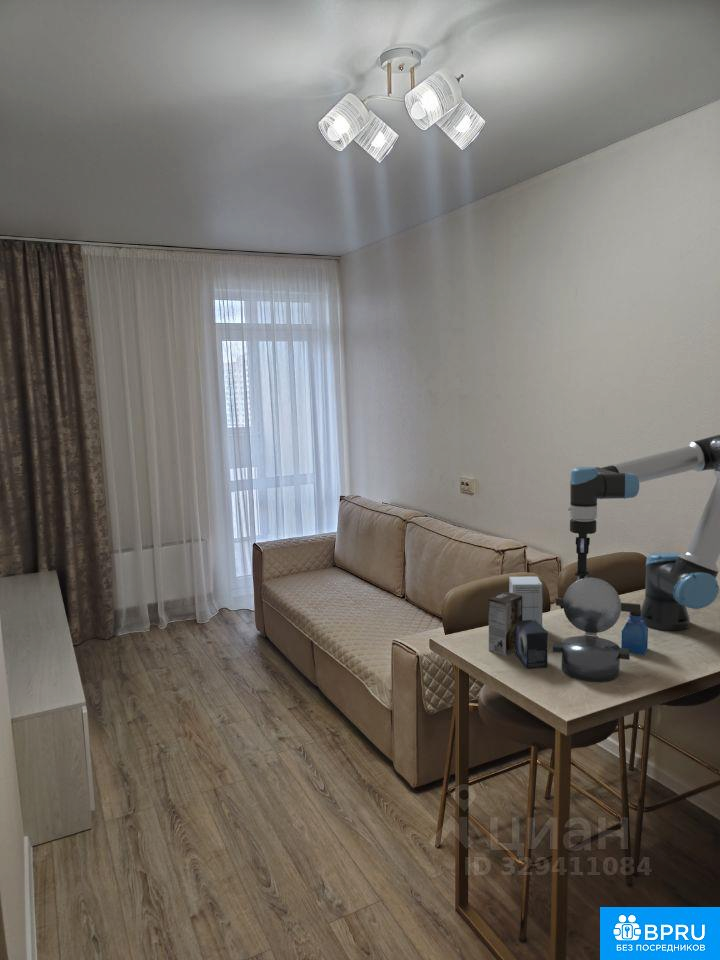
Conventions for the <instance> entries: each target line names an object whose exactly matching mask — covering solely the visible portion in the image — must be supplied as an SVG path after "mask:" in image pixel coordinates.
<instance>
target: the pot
mask: <svg viewBox="0 0 720 960" xmlns="http://www.w3.org/2000/svg"><path fill="white" fill-rule="evenodd" d="M551 650H552V652H553V653H560V654H561V665H560V668H561V671H562V673H564V674H565V675H567V676H568V677H570V678H572V679H575V680H577V681H582V682H588V683H608V682H609V683H610V682H611V681H615V680H617V679H618V678H619V677H620V672H621V671H620V665H621V660H626V661H627V660H628V661H630V658H631V657H630V656H631V655H630V654H631V653H629V649H627V648H621V647H620V646H619V645H618V644H617V643H616V642H615V641H612V640H609V639H607V638H603V637H599V636H598V635H597V636H593V635H585V634H583V635H578V636H577V635H576V636H569V637H567V638H565V639H563V640H562V641H556V640H555V641H554V640H553V642H552V649H551Z"/></svg>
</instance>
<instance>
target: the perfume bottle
mask: <svg viewBox="0 0 720 960" xmlns="http://www.w3.org/2000/svg"><path fill="white" fill-rule="evenodd" d="M641 619H642V615H641V609H640V613H636V612H628V619H627V621H626V623H625V625H624V627H623V628H622V629H621V639H620V640H621V641H620V642H621V647H620V648H627V649H629V653H630V654H632V655H639V656H642V657H643V656H645V654H646V652H647V650H648V646H649V645H648V642H649V627H648V626H647V625H646V624H645V622H644V621H643V620H641Z"/></svg>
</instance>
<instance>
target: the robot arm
mask: <svg viewBox="0 0 720 960" xmlns="http://www.w3.org/2000/svg"><path fill="white" fill-rule="evenodd" d="M693 470H694V472H702V471H709V470H711V471H712V470H713V473H714V474H715V477H716V481H715V483H714V486H713V488H712V490H711V492H710V495H709V498H708V499H707V502H706V505H705V507H704V509H703V511H702V514H701V515H700V518H699V521H698V523H697V526H696V527H695V530H694V532H693V535H692V537H691V539H690V541H689V544H688V546H687V548H686V551H685V552H684V553H677V552H676V553H675V552H674V553H673V552H672V553H671V552H657V553H656V552H654V553H650V554H648V555H647V556H646V560H645V561H646V562H645V588H644V589H645V591H644V592H645V593H644V595H645V596H644V600H643V603H642V605H641V608H640V610H641V615H642V619H641V620H643V621H644V622H645V624H646V625H647V627H648V628H651V629H656V630H661V631H662V630H663V631H682V629H683V630H686V629H685V628H687V627H688V626H689V625H691V623H690V622H691V620H690V615H689V612H688V609H687V608H689V609H692V610H699V609H703V608H706V607H709V606H710V605H711V604H713V602H715V600H716V599H717V598H718V595H719V593H720V586H719V584H718V580H717V576H718V573H719V571H720V570H719V568H718V566H717V561H718V559H719V558H720V434H717V435H713V436H709V437H706V438H702V439H699V440H695V441H690V442H689V443H688V444H687V445H686V446H684V447H680V448H677V449H671V450H668V451H664V452H660V453H659V452H658V453H655V454H652V455H648V456H644V457H639V458H636V459H632V460H628V461H623V462H618V463H615V464H612V465H608V466H604V467H599V466H595V467H593V466H577V467H574V468H572V469H571V472H570V473H571V474H570V482H569V484H570V490H569V491H570V492H569V493H570V498H569V499H570V502H569V503H570V505H569V506H570V507H567V510H568V511H569V512H570V514H569V516H570V517H569V518H571V519H570V520H569V531H570V533H574V534H578V537H577V536H576V537H575V545H576V547H575V548H576V549H575V550H576V552H575V553H576V554H577V571H576V572H575V573H574V575H575V576H577V577H576V581H577V580H580V579H583V578H588V575H589V574H590V572H589V571H587V569H588V566H587V565H588V564H587V563H588V561H587V560H588V558H587V557H588V554H589V553H590V552H589V548H590V547H589V546H590V544H591V543H590V542H591V541H590V539H591V538H590V537H588V535H593V534H596V532H597V520H596V519H597V518H598V517H597V516H598V500H607V499H610V500H611V499H624V500H625V499H632V498H635V497H637V496H638V494H639V491H640V483H643V482H648V481H652V480H656V479H661V478H665V477H669V476H673V475H677V474H680V473H684V472H689V471H693ZM689 627H690V626H689ZM689 627H688V628H689ZM688 628H687V629H688Z"/></svg>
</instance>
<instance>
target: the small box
mask: <svg viewBox="0 0 720 960" xmlns="http://www.w3.org/2000/svg"><path fill="white" fill-rule="evenodd" d="M548 634H549V633H548V631H547V630H546V629H545V628H544V627H543V625H542V626H541V625H540V624H539V623H538V622H537V621H536V620H523V621H515V651H514V652H515V653H514V655H515V656H516V657H517V658H518V660H519V661H520V662H521V664H522V665H523V666H524V667H525V668H526V670H533V669H535V670H536V669H547V668H548V665H549V664H548V657H549V656H548V636H549V635H548Z"/></svg>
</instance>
